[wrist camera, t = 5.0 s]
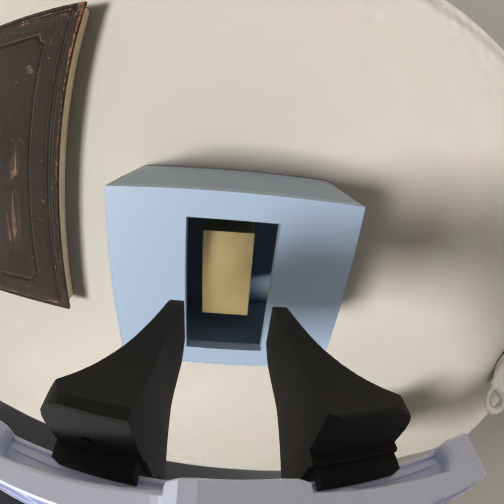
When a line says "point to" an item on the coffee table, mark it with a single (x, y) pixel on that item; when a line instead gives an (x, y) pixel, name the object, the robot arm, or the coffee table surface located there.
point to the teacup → (496, 388)
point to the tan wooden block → (227, 266)
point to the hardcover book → (36, 150)
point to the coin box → (263, 261)
